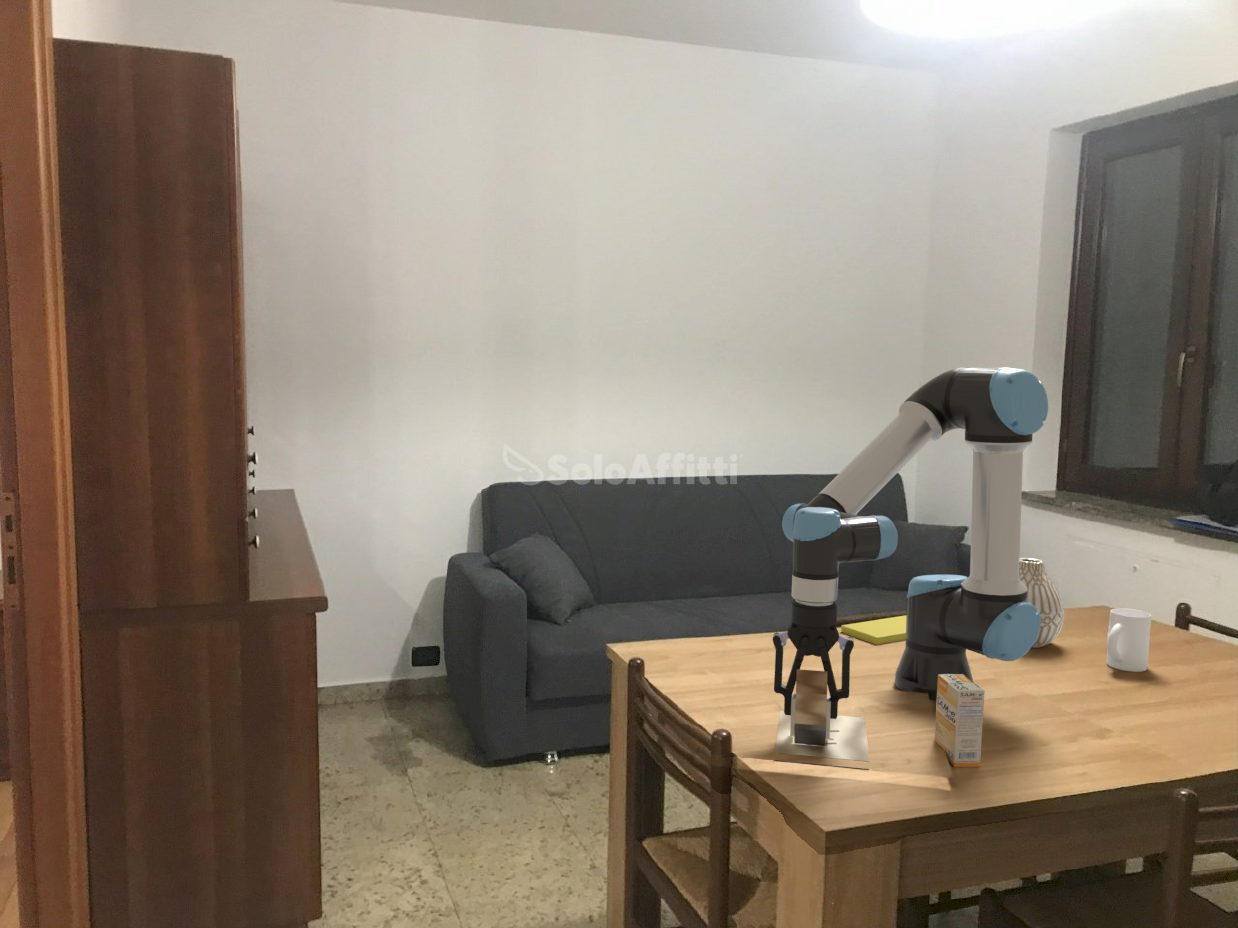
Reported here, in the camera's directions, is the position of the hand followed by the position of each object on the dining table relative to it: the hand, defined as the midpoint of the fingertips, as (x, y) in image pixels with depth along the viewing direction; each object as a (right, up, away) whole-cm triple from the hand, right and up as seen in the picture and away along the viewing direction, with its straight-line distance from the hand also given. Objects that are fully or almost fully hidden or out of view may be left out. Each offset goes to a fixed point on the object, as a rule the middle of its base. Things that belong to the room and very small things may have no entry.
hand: (809, 734), depth 166 cm
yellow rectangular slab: (+35, +4, +74) cm, 82 cm away
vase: (+64, +3, +66) cm, 92 cm away
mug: (+78, +1, +48) cm, 91 cm away
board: (+3, -2, +3) cm, 4 cm away
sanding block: (-1, +1, -6) cm, 6 cm away
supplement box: (+24, -3, -3) cm, 24 cm away
